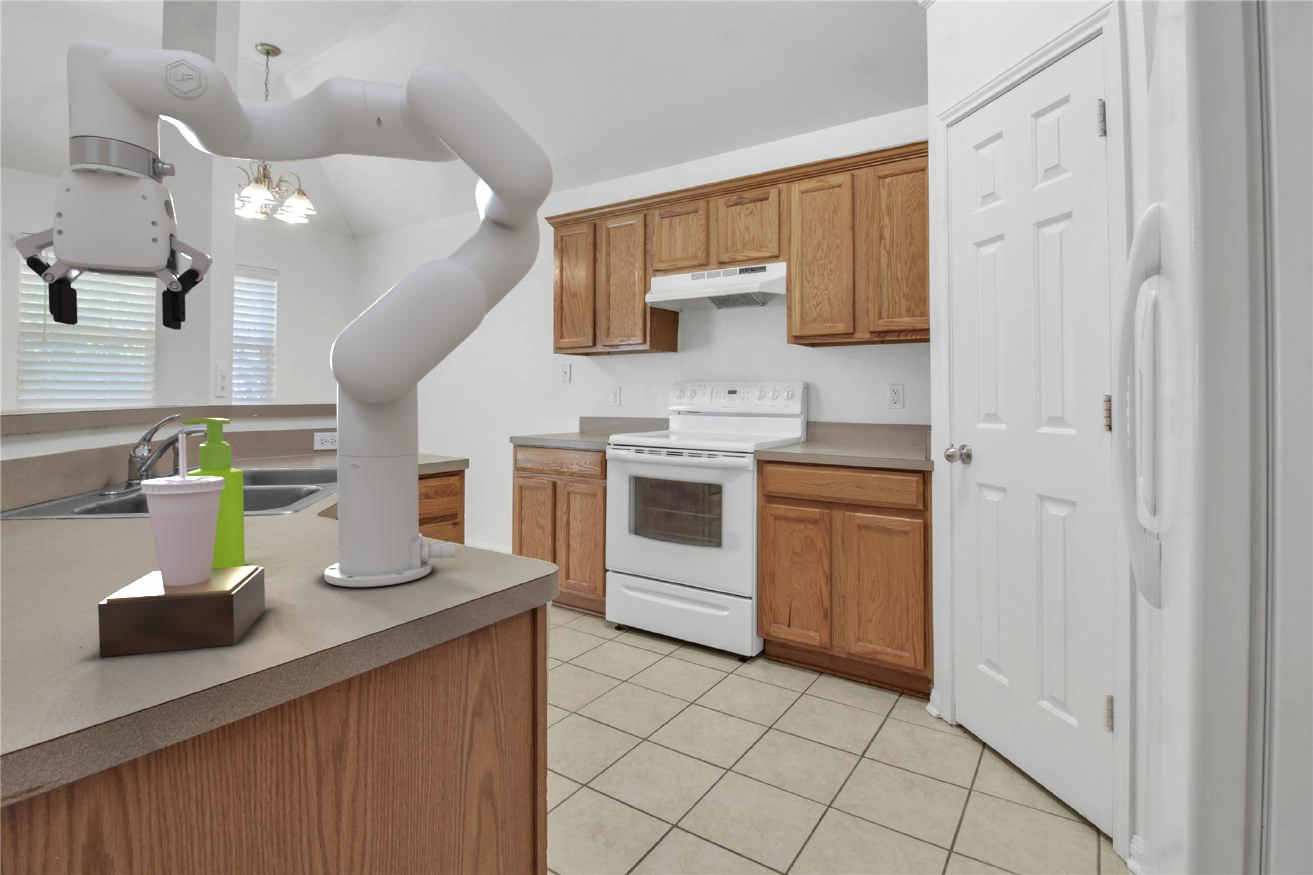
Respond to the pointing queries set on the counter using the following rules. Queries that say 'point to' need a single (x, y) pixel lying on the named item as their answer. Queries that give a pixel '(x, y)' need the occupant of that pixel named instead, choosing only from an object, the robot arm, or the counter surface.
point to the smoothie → (184, 522)
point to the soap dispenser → (223, 494)
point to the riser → (181, 612)
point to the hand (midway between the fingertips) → (120, 325)
